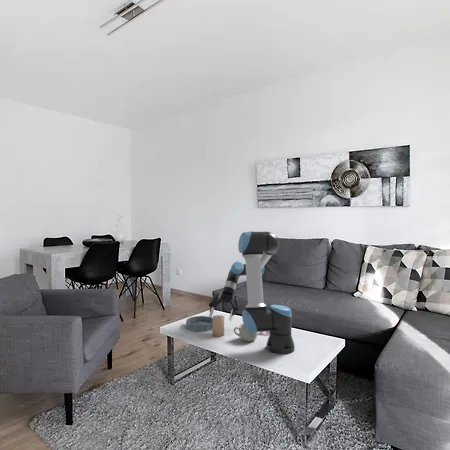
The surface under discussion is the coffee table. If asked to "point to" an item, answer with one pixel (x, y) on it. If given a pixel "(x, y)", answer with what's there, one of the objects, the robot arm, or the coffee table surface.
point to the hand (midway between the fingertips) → (220, 318)
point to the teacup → (245, 333)
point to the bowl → (199, 323)
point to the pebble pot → (218, 326)
